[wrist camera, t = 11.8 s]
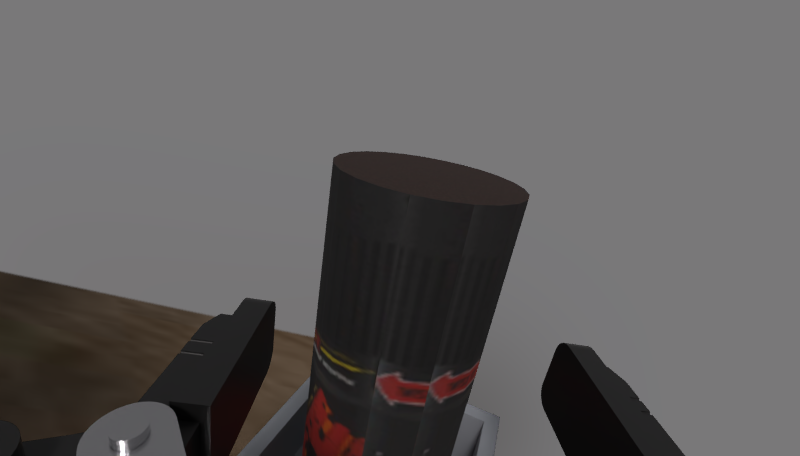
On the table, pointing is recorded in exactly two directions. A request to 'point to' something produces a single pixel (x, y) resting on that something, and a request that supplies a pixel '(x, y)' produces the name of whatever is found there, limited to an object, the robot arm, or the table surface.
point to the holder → (284, 434)
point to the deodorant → (405, 301)
